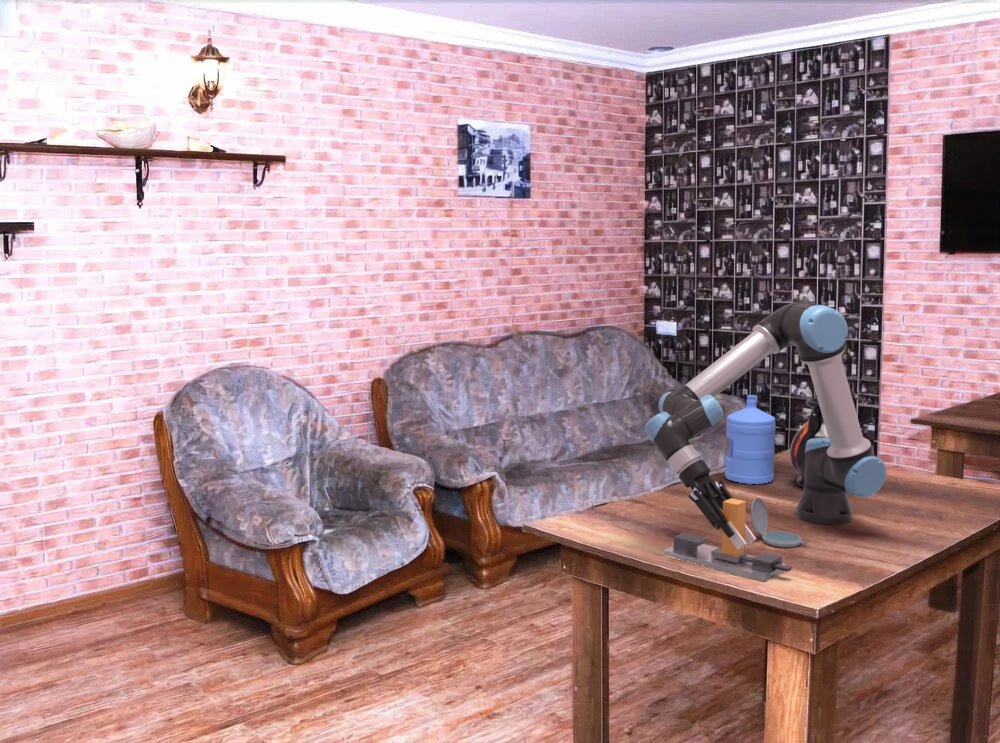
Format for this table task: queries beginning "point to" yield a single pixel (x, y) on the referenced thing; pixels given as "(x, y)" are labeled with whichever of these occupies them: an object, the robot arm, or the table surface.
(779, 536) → the pocket watch
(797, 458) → the amphora vase
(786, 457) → the table surface
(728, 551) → the handle
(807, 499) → the robot arm
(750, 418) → the water jug
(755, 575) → the base
